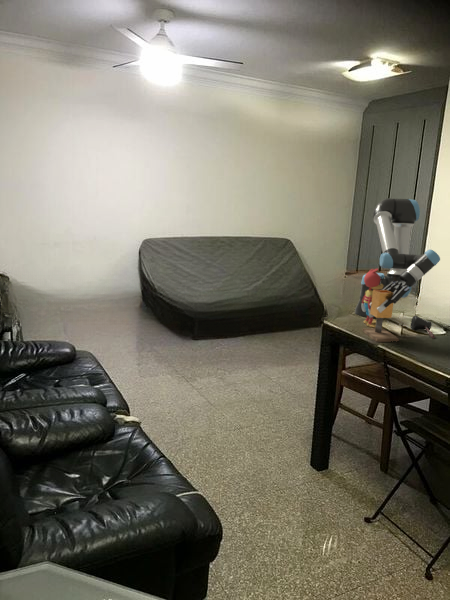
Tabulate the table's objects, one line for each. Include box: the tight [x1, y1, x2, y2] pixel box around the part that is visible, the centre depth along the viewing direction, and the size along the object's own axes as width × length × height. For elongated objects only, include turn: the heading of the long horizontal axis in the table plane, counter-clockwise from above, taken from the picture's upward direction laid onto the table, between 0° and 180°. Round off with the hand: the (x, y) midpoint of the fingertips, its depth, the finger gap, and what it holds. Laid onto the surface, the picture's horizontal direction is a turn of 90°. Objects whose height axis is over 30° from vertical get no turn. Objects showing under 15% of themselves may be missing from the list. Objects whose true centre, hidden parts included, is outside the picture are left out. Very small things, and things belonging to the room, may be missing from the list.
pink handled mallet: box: [410, 314, 436, 339], centre depth 244 cm, size 8×18×8 cm
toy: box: [361, 268, 383, 329], centre depth 250 cm, size 15×10×30 cm
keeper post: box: [362, 318, 400, 343], centre depth 233 cm, size 16×11×10 cm
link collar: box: [370, 290, 394, 319], centre depth 232 cm, size 7×7×12 cm
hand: (374, 308), depth 232 cm, fingers closed on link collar, 7 cm apart
